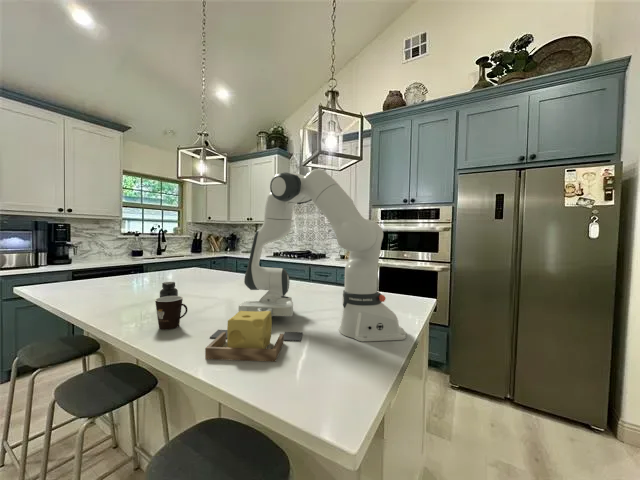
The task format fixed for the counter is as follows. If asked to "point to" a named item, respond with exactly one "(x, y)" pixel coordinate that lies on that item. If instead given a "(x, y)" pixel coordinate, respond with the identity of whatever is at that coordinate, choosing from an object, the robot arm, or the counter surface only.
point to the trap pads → (287, 335)
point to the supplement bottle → (168, 289)
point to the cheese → (249, 329)
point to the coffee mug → (169, 311)
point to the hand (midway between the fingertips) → (261, 314)
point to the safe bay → (242, 351)
